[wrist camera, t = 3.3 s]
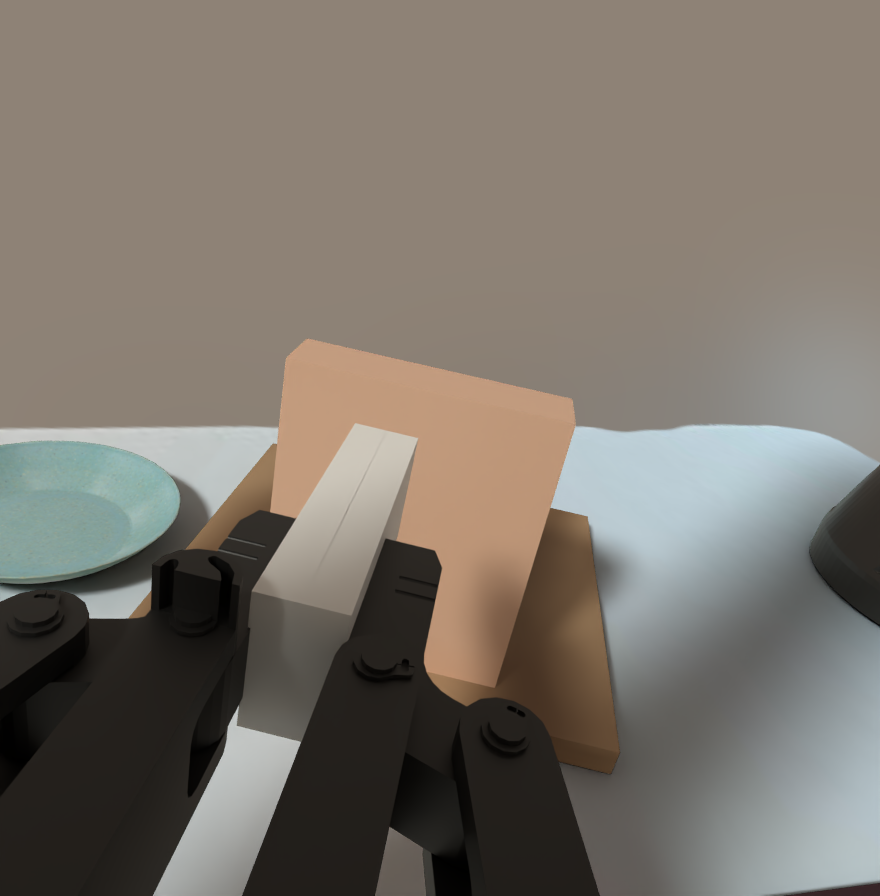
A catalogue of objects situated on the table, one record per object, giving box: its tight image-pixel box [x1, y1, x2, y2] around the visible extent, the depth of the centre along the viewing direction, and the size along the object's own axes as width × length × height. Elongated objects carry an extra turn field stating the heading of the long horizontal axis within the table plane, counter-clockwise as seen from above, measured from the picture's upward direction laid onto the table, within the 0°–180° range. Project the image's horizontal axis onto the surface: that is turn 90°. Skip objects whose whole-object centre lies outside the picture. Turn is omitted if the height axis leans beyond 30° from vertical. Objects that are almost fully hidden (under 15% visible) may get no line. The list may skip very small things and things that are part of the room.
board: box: [129, 444, 620, 774], centre depth 35 cm, size 20×18×1 cm
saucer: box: [0, 441, 181, 584], centre depth 33 cm, size 12×12×2 cm
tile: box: [270, 339, 576, 688], centre depth 27 cm, size 10×3×12 cm, turn 83°
